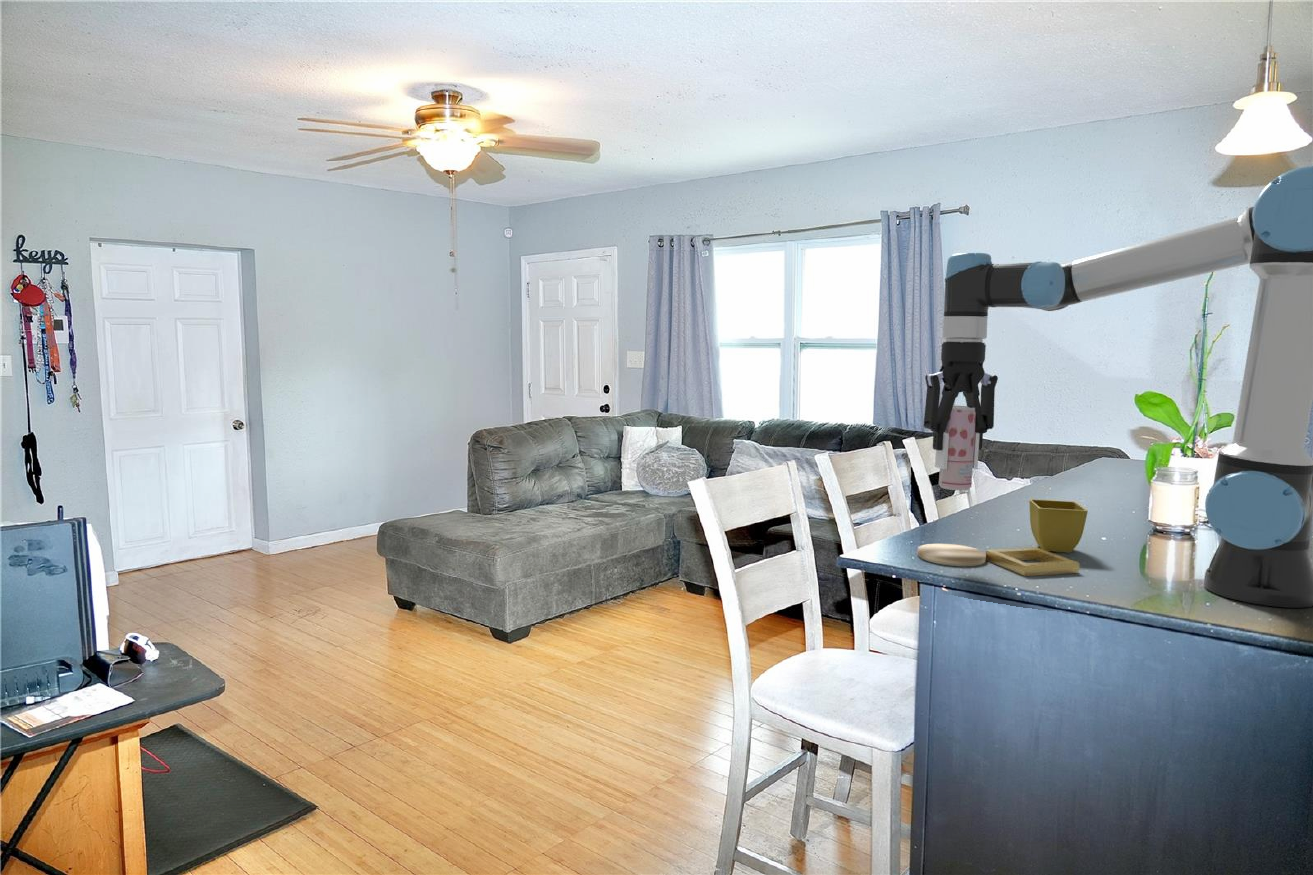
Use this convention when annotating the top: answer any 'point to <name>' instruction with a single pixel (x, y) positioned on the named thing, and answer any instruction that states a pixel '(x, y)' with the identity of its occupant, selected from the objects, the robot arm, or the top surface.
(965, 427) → the pink strawberry drink can
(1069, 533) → the flower pot
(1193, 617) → the top surface
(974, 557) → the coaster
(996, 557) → the square wooden tray
